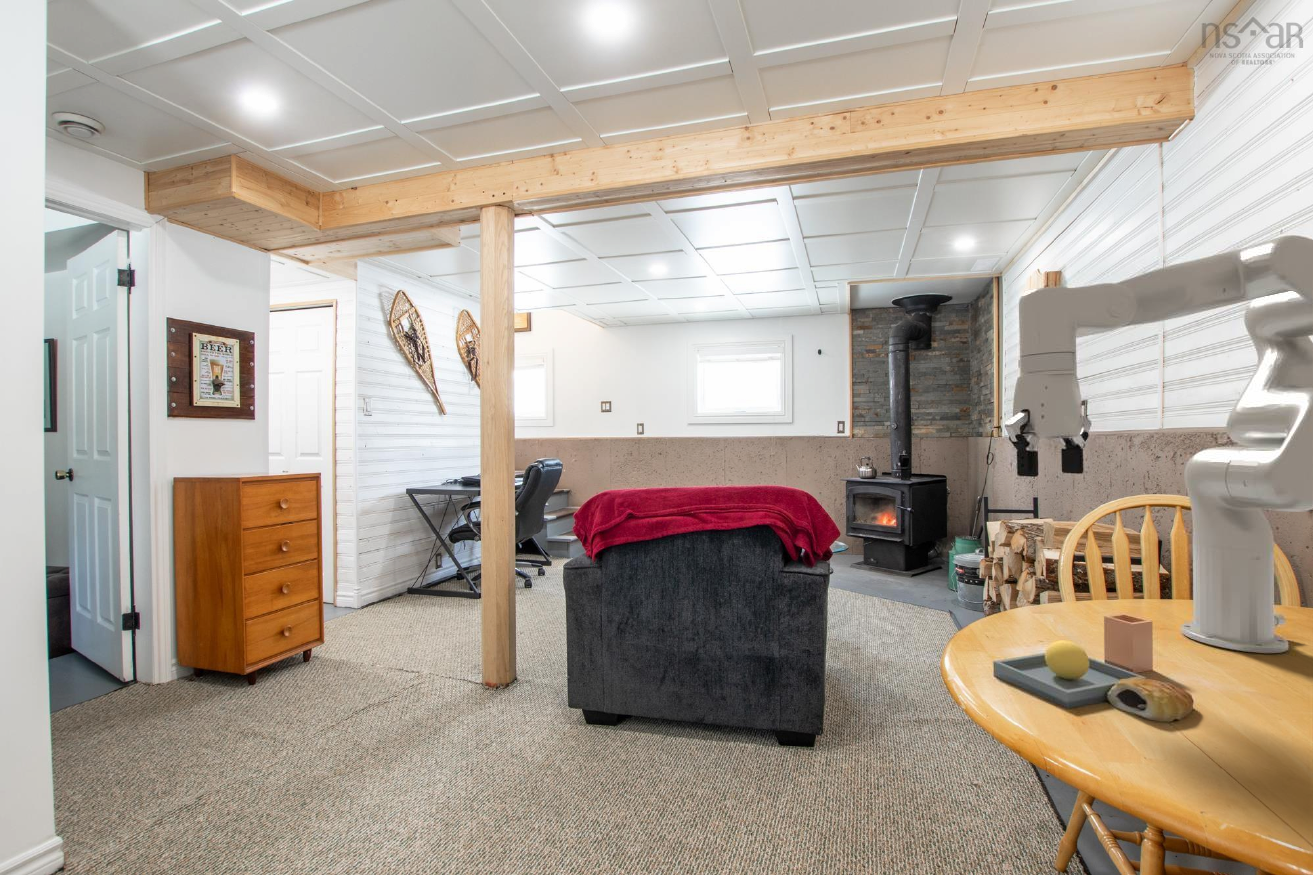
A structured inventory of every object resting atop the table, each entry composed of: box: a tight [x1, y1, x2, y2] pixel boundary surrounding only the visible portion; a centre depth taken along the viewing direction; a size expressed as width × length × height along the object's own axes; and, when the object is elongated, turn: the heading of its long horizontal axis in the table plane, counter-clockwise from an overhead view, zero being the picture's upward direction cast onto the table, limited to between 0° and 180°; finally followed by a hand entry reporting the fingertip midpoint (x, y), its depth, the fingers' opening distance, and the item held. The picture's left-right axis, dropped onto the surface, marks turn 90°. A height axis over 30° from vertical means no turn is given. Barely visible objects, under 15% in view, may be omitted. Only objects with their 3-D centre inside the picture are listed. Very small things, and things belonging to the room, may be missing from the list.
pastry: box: [1106, 677, 1195, 723], centre depth 75 cm, size 9×7×4 cm
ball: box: [1044, 639, 1089, 679], centre depth 82 cm, size 5×5×5 cm
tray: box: [992, 652, 1148, 710], centre depth 82 cm, size 14×11×2 cm
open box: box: [1103, 613, 1154, 674], centre depth 88 cm, size 4×4×7 cm
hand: (1050, 474), depth 96 cm, fingers open, 9 cm apart
